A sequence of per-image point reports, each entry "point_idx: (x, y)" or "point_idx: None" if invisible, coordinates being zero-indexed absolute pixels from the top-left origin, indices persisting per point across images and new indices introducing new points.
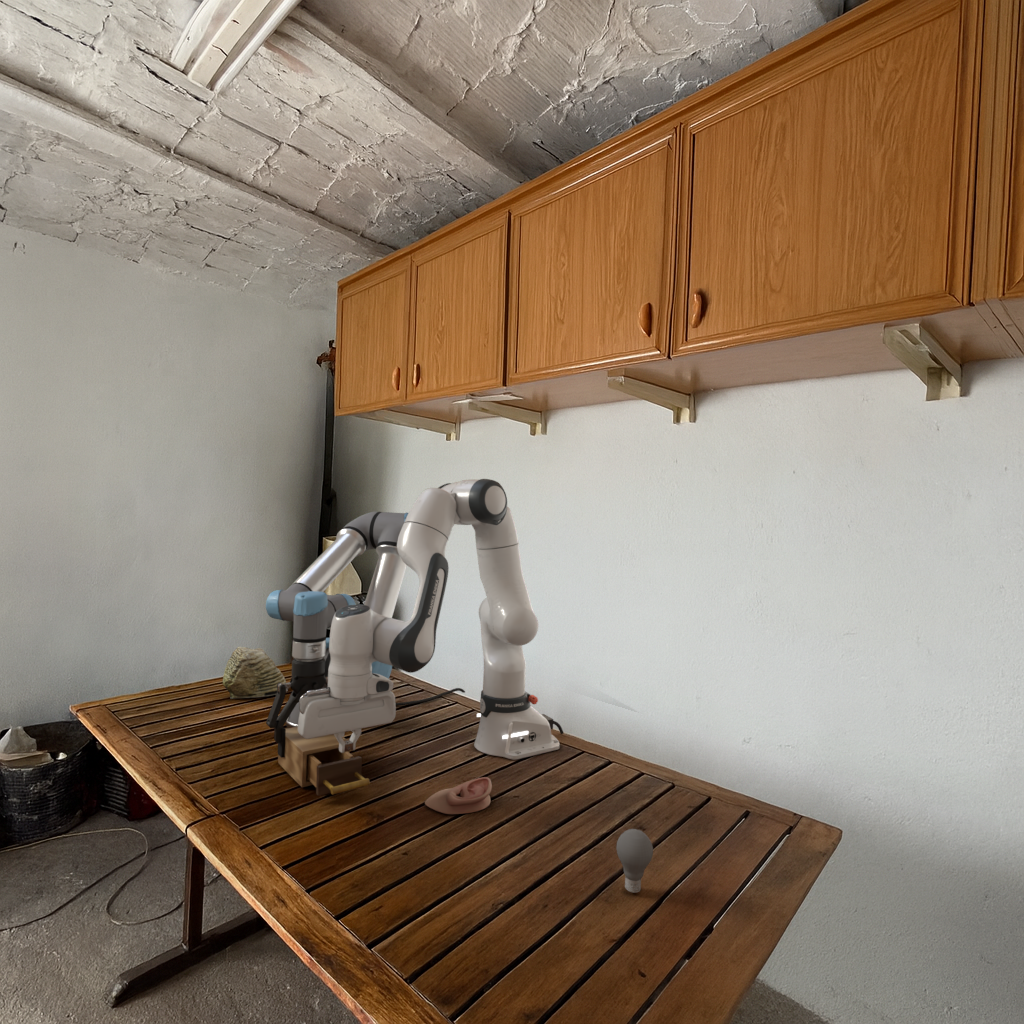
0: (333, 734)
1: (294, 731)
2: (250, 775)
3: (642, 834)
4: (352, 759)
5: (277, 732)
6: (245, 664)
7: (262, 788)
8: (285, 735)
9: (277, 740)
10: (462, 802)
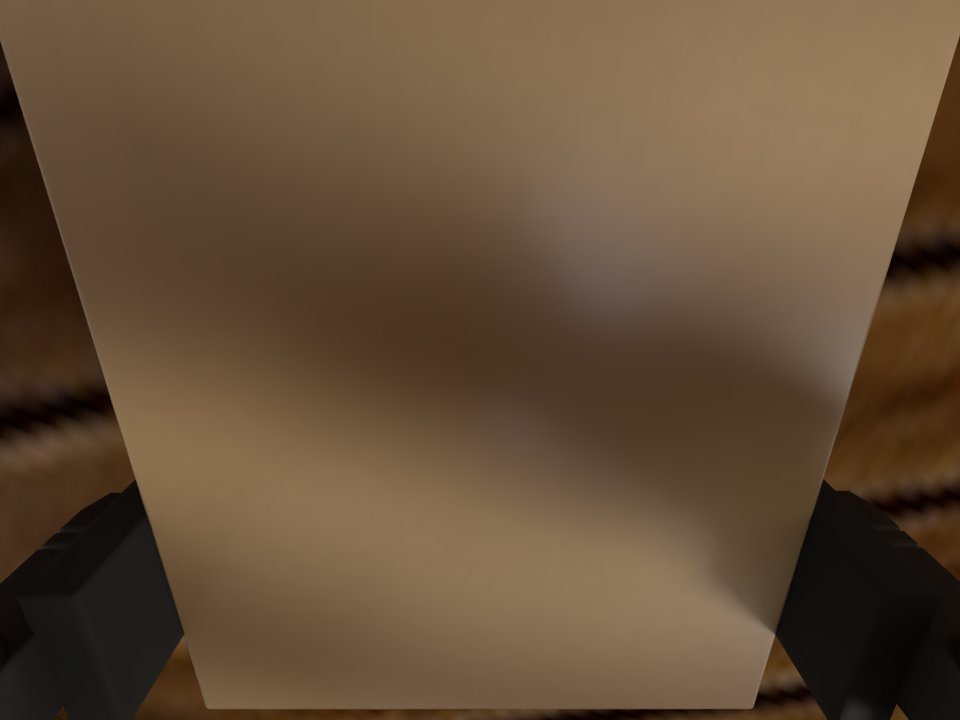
0: (142, 178)
1: (633, 597)
2: (883, 381)
3: None
4: None
5: (947, 591)
6: None
7: (954, 101)
8: (801, 530)
9: (862, 509)
10: None
